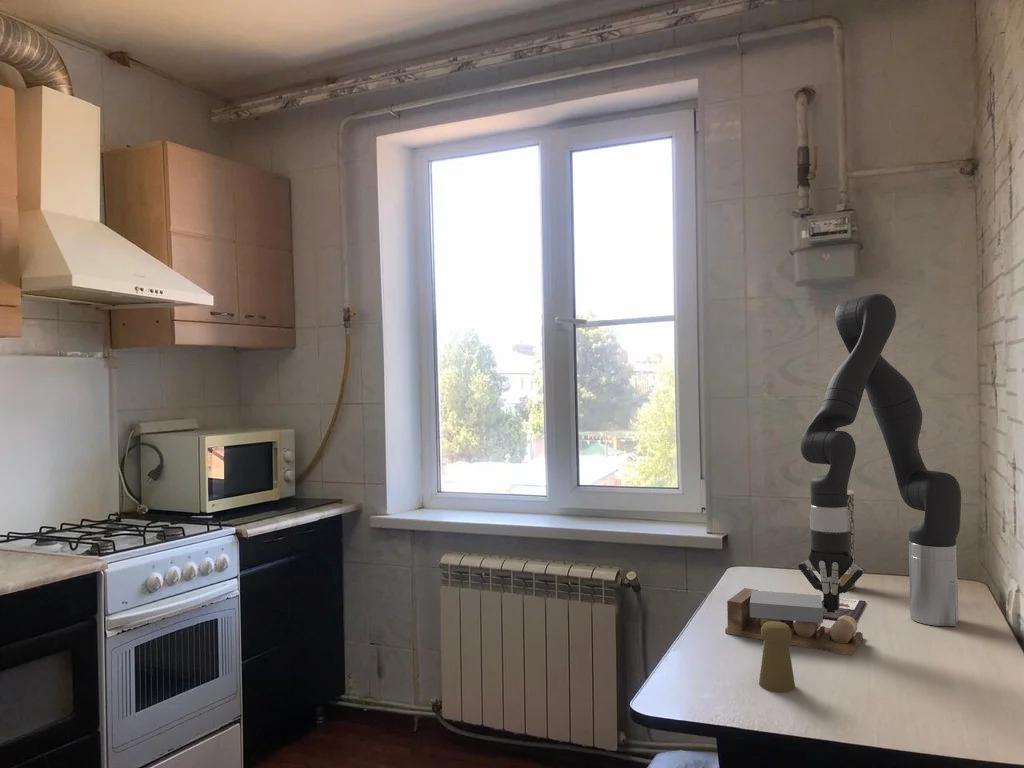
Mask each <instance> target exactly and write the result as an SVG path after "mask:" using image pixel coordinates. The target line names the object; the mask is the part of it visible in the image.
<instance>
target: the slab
mask: <svg viewBox="0 0 1024 768" xmlns="http://www.w3.org/2000/svg"><path fill="white" fill-rule="evenodd" d="M822 600H823V599H822V595H821V594H811V593H796V592H795V593H794V592H793V593H792V592H779V591H768V590H767V591H766V590H765V591H764V590H758V591H754V590H752V593H751V598H750V617H755V618H767V619H779V620H791V621H794V622H795V621H803V622H816V623H821V624H823V623H824V619H823V607H822Z"/></svg>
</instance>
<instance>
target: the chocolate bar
mask: <svg viewBox="0 0 1024 768" xmlns="http://www.w3.org/2000/svg"><path fill="white" fill-rule="evenodd" d="M839 599H840V607H839V609H838V610H836V612H835V613H832V612H827V609H825V608H824V599H821V600H822V607H823V620H828V619H829V621H835V620H836V621H837V619H838V618H839V617H841V616H843V615H847V616H850V617H852V618H853V619H854V620H855V621H856V622H857V620H858V618H859V617H860V614H861V612H862V611H863V608H864V607H865V606H866V603H867V602H866V600H861V599H860V600H859V599H853V598H844V597H839ZM836 621H835V622H836Z"/></svg>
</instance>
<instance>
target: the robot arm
mask: <svg viewBox="0 0 1024 768" xmlns="http://www.w3.org/2000/svg"><path fill="white" fill-rule="evenodd" d="M834 320H835V325H836V328H837V332H838V334H839V336H840V338H841V339H842V342H843V344H844V346H845V348H846V350H847V353H848V354H849V355H848V356H847V358H846V359H845V360H844V361H843V362H842V363H841V365H840V366H839V367H838V368H837V370H836V371H835V373H834V374H833V375H832V376H831V379H829V382H828V385H827V387H826V390H825V393H824V396H823V400H822V403H821V406H820V408H819V410H818V412H816V413H815V414H816V415H815V416H814V417H813V419H812V420H811V421H810V424H809V425H808V426H807V428H806V429H805V431H804V432H803V435H802V438H801V441H800V453H801V455H802V458H804V460H805V461H807V462H808V463H810V464H817V465H830V466H829V470H828V472H827V473H826V474H825V475H816V476H815V477H813V478H812V479H811V480H810V513H809V527H810V528H809V531H810V535H809V537H810V553H809V555H808V558H807V559H806V560H804V561H802V562H801V563H799V564H798V566H797V568H798V569H799V570H800V572H801V573H802V574H803V576H804V577H805V578H806V580H807V581H808V582H809V584H810V585H811V586H812V587H813V589H815V590H817V591H819V592H822V594H823V599H824V608H825V609H827V612H832V613H835V612H836V610H838V609H839V607H840V599H839V598H840V594H846V593H847V592H848V591H849V590H851V589H850V588H851V587H852V585H853V584H854V583H855V584H856V582H858V580H859V579H860V578H861V577H862V576H863V575H864V573H865V569H864V568H863V567H859V566H858V565H856V563H855V564H854V563H853V558H852V556H851V554H850V520H849V512H848V498H847V490H848V485H849V481H850V476H851V472H852V469H853V465H854V462H855V459H856V458H855V457H856V453H857V452H856V451H857V447H856V442H855V440H854V438H853V436H852V435H851V434H850V433H849V432H847V431H845V430H844V431H843V430H837V429H840V428H843V427H848V426H851V425H852V424H853V423H854V422H855V420H856V418H857V415H858V411H859V408H860V404H861V402H862V398H863V394H864V391H865V392H866V394H867V398H868V400H869V404H870V406H871V409H872V412H873V414H874V417H875V420H876V422H877V424H878V426H879V428H880V429H879V430H880V431H881V434H882V436H883V440H884V443H885V446H886V448H887V451H888V454H889V457H890V460H891V463H892V468H893V472H894V476H895V480H896V484H897V488H898V491H899V494H900V496H901V498H902V500H903V502H904V503H905V505H907V506H908V507H909V508H911V509H914V510H916V511H922V512H924V516H923V517H924V519H923V523H922V524H920V525H919V526H918V525H917V526H914V527H911V528H910V530H909V531H908V554H909V555H908V559H909V561H908V562H909V564H908V565H909V567H908V568H909V615H910V617H909V618H910V619H911V620H912V621H915V622H918V623H919V624H920V623H921V624H924V625H928V626H930V625H931V626H936V627H937V626H939V627H957V625H958V622H959V577H958V575H957V573H958V572H957V570H958V569H957V568H958V567H957V566H958V565H957V538H958V535H959V532H960V529H961V512H962V509H961V508H962V491H961V490H962V489H961V486H960V484H959V481H958V480H957V477H955V476H954V475H952V474H950V473H947V472H944V471H936V470H928V469H927V467H926V465H925V464H924V461H923V458H922V455H921V453H920V449H919V448H920V447H919V439H920V435H921V429H922V426H923V425H922V424H923V412H922V407H921V405H920V402H919V399H918V397H917V394H916V392H915V390H914V387H913V385H912V384H911V382H910V381H909V380H908V379H907V378H906V377H905V375H903V374H901V373H900V372H899V370H898V369H896V368H895V367H894V366H893V365H892V364H891V363H889V361H887V360H886V359H885V358H884V357H883V355H882V352H883V349H884V348H885V346H886V344H887V342H888V340H889V339H890V336H891V333H892V332H893V330H894V328H895V324H896V320H897V310H896V306H895V304H894V302H893V301H892V299H891V298H890V297H889V296H888V295H886V294H882V293H874V294H868V295H864V296H860V297H859V296H858V297H856V298H851V299H847V300H844V301H842V302H840V303H839V304H838V305H837V307H836V309H835V312H834ZM813 568H814V569H815V571H816V572H817V574H819V575H820V579H819V577H818V576H817V575H816V574H815V572H814V571H813ZM849 568H851V571H850V575H851V576H852V577H851V578H850V579H849V580H848V581H847V582H846V583H845V584H844V585H842V586H840V583H841V577H842V576H843V575H844V574H845V573H846V571H847V570H848V569H849ZM831 577H832V581H831ZM831 583H832V588H831ZM823 599H822V600H823Z"/></svg>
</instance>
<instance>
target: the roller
mask: <svg viewBox="0 0 1024 768" xmlns="http://www.w3.org/2000/svg"><path fill="white" fill-rule="evenodd" d="M770 621H776V622H782V623H784V621H785V620H779V619H767V618H761V621H760V622H761V626H762V625H763V624H764V623H766V622H770Z"/></svg>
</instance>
